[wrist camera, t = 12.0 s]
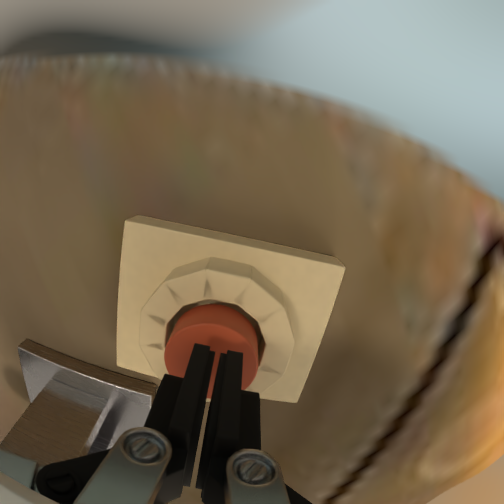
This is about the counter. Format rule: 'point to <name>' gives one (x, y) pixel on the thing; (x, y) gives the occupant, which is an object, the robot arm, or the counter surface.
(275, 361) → the control block
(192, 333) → the button
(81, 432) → the bracket
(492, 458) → the counter surface
